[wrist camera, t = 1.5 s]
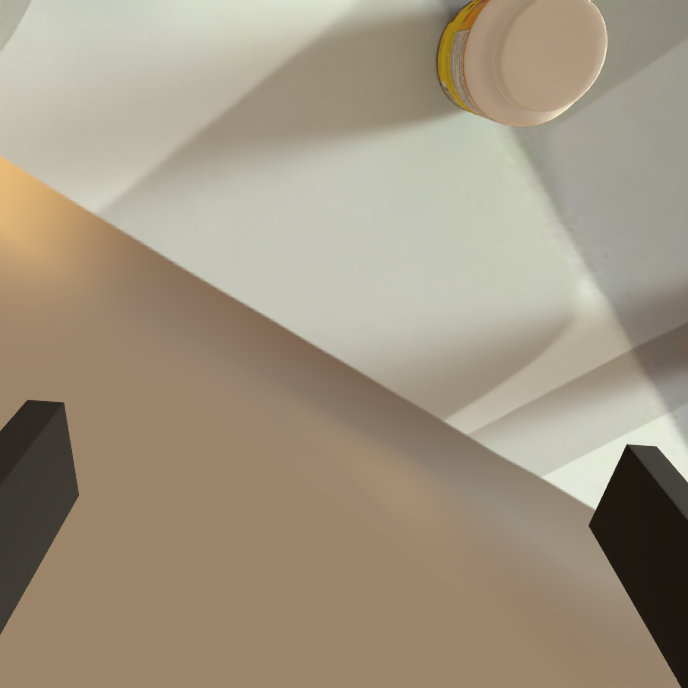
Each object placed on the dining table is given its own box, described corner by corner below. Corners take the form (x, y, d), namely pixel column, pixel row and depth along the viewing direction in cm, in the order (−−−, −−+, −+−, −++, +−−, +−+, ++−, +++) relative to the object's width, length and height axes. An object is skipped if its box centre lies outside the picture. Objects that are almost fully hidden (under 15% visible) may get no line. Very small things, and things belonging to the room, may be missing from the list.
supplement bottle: (542, -5, 27) (649, -38, 18) (526, 111, 30) (612, 133, 21) (436, -4, 27) (491, -35, 18) (429, 112, 30) (474, 135, 21)
